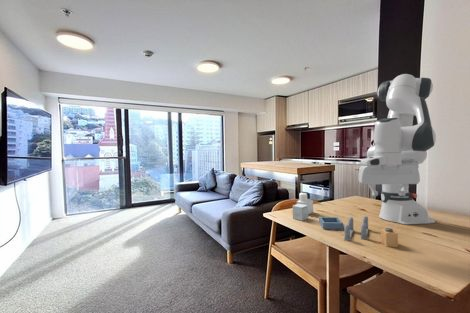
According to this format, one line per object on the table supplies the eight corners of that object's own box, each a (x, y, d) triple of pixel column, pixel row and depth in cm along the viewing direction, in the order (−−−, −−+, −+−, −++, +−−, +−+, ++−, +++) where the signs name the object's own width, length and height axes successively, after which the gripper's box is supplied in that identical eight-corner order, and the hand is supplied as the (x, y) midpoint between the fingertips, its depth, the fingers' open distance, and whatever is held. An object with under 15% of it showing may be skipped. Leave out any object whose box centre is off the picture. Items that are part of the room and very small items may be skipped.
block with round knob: (392, 242, 87) (392, 227, 87) (397, 246, 83) (397, 231, 83) (381, 241, 87) (380, 227, 87) (386, 246, 84) (386, 230, 83)
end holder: (337, 223, 110) (337, 217, 110) (343, 229, 102) (343, 223, 101) (319, 222, 112) (318, 216, 112) (323, 229, 103) (322, 222, 103)
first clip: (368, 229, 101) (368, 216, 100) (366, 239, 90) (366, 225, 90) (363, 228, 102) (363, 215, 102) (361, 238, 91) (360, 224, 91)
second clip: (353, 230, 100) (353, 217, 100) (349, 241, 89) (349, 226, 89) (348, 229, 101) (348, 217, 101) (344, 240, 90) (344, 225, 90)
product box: (302, 221, 116) (301, 207, 115) (292, 218, 120) (292, 205, 120) (308, 218, 119) (308, 205, 119) (298, 216, 124) (298, 203, 124)
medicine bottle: (302, 210, 135) (302, 191, 135) (313, 212, 130) (313, 192, 130) (296, 213, 130) (296, 193, 130) (307, 215, 125) (307, 194, 125)
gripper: (412, 158, 85) (413, 193, 86) (356, 160, 89) (357, 194, 89) (423, 159, 79) (424, 197, 80) (362, 161, 83) (363, 197, 83)
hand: (388, 195), depth 84 cm, fingers open, 8 cm apart
